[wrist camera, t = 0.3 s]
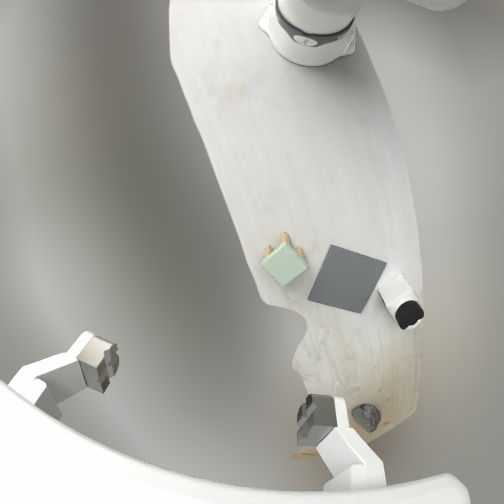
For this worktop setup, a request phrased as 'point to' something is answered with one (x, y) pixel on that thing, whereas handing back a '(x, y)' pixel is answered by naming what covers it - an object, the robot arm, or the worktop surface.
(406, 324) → the medicine bottle
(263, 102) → the worktop surface
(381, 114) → the worktop surface
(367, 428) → the mineral rock
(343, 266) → the mat
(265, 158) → the worktop surface
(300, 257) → the stool
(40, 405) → the robot arm
